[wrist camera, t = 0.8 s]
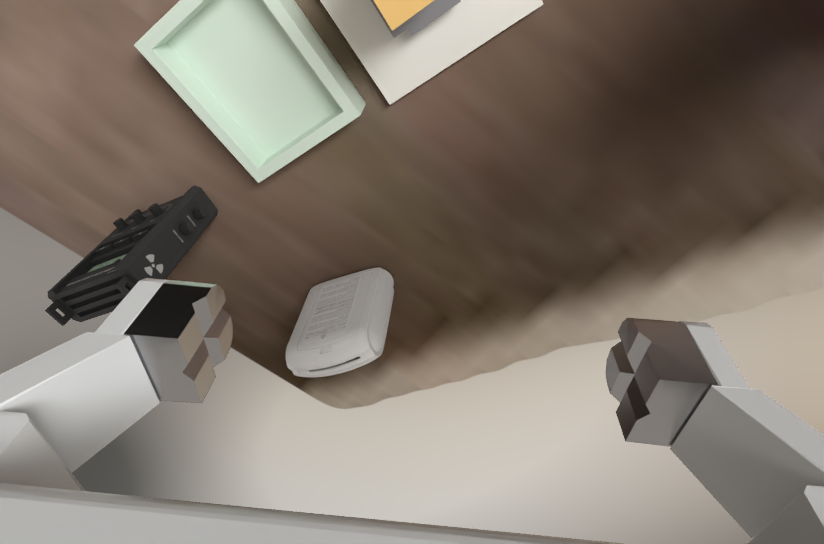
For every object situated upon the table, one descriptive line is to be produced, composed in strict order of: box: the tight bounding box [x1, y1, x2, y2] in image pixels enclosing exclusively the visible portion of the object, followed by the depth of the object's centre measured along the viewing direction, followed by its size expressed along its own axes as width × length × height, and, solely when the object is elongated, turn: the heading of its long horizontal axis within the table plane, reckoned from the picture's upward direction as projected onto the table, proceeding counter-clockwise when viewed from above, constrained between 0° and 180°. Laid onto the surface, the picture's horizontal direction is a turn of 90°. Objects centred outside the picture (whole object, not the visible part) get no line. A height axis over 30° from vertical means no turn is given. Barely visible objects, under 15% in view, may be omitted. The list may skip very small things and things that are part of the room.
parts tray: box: [134, 0, 366, 183], centre depth 40 cm, size 12×14×3 cm
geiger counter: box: [45, 186, 218, 326], centre depth 44 cm, size 10×4×15 cm, turn 114°
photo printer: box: [286, 267, 394, 377], centre depth 50 cm, size 10×4×12 cm, turn 114°
